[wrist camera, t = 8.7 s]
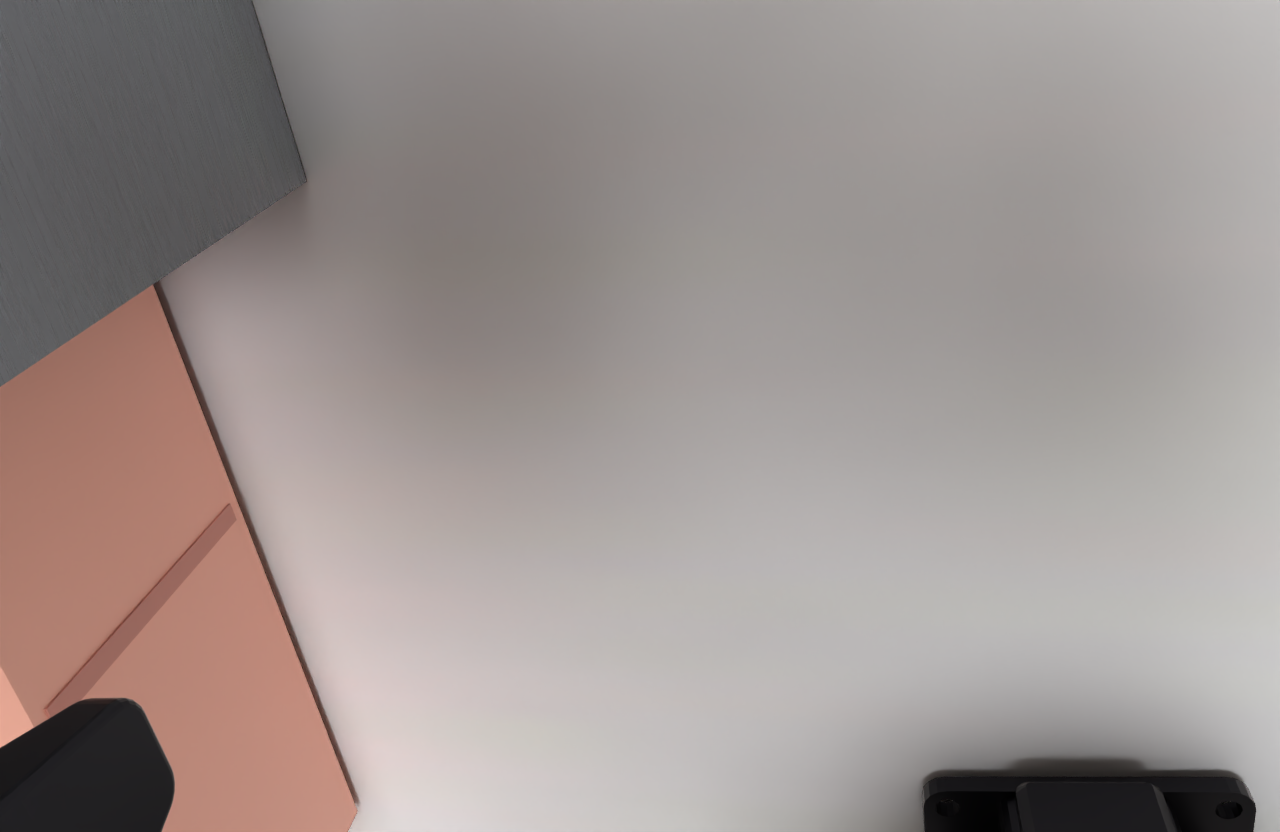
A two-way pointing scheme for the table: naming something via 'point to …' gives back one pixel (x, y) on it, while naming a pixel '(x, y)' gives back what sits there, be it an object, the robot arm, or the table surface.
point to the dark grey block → (125, 153)
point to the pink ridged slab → (151, 583)
